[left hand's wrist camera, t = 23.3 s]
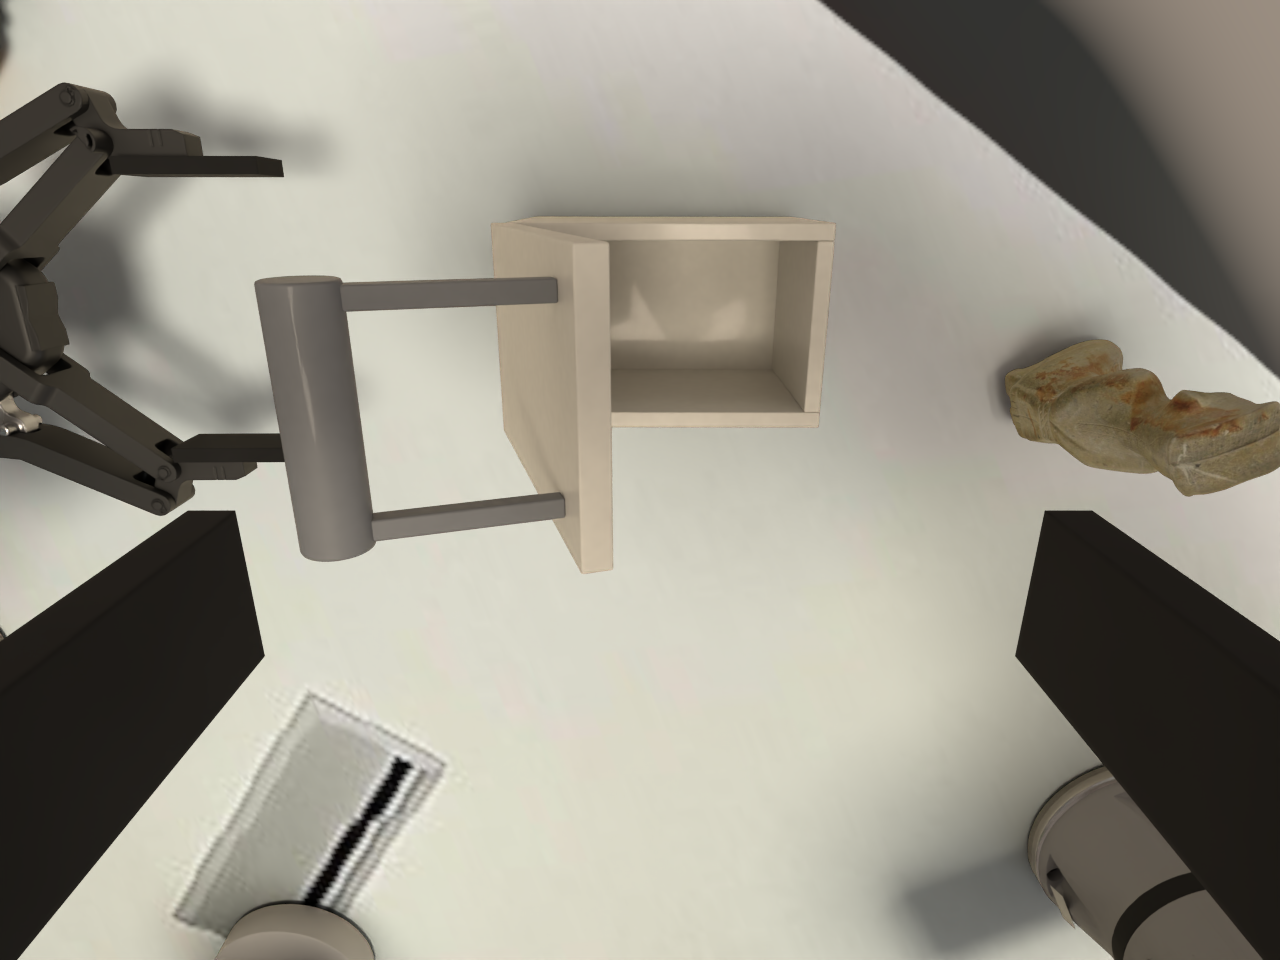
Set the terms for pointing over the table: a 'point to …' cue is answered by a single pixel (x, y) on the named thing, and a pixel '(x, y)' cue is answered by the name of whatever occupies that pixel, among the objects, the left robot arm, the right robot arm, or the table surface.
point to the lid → (530, 383)
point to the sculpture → (1142, 421)
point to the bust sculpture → (294, 936)
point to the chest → (713, 317)
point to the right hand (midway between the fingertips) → (293, 315)
